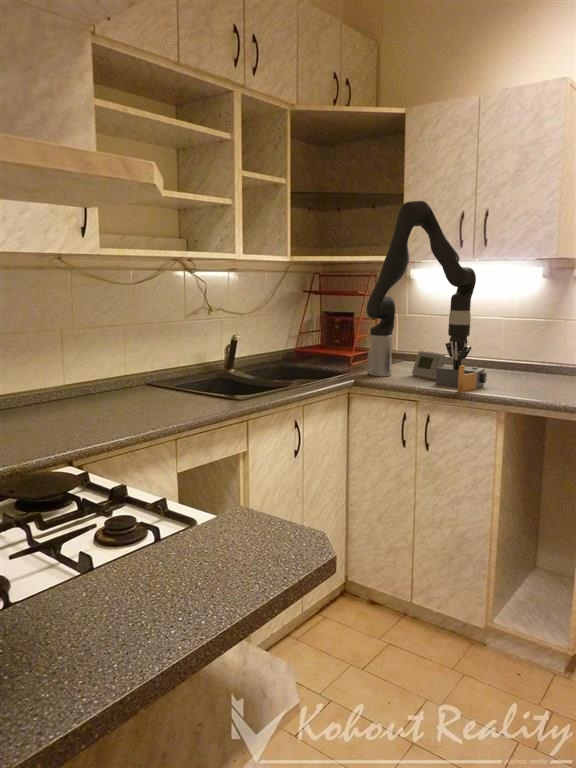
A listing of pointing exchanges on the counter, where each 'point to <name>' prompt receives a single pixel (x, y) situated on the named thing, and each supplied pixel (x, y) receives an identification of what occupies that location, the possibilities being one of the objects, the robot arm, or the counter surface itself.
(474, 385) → the orange flat l-shaped piece
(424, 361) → the digital clock
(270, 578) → the counter surface
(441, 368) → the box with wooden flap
